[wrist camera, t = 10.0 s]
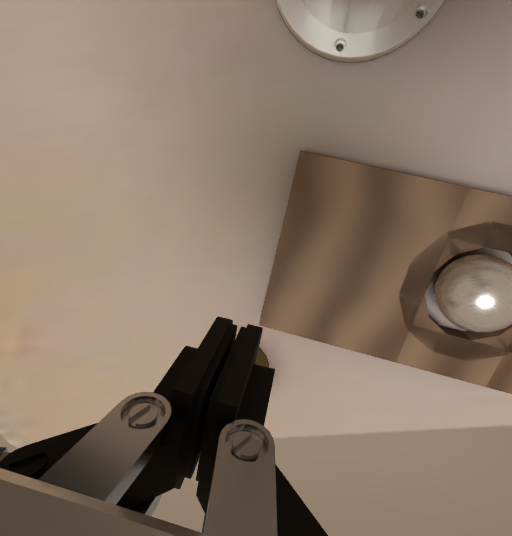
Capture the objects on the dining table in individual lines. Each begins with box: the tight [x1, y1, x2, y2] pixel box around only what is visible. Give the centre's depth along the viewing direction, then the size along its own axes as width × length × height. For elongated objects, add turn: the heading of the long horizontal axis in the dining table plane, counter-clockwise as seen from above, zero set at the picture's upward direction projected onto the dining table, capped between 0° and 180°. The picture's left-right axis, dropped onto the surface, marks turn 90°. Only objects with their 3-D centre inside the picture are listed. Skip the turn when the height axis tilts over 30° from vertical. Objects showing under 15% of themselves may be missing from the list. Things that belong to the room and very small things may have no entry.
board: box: [259, 151, 512, 394], centre depth 28 cm, size 24×16×2 cm, turn 78°
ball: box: [435, 254, 512, 332], centre depth 26 cm, size 6×6×6 cm
